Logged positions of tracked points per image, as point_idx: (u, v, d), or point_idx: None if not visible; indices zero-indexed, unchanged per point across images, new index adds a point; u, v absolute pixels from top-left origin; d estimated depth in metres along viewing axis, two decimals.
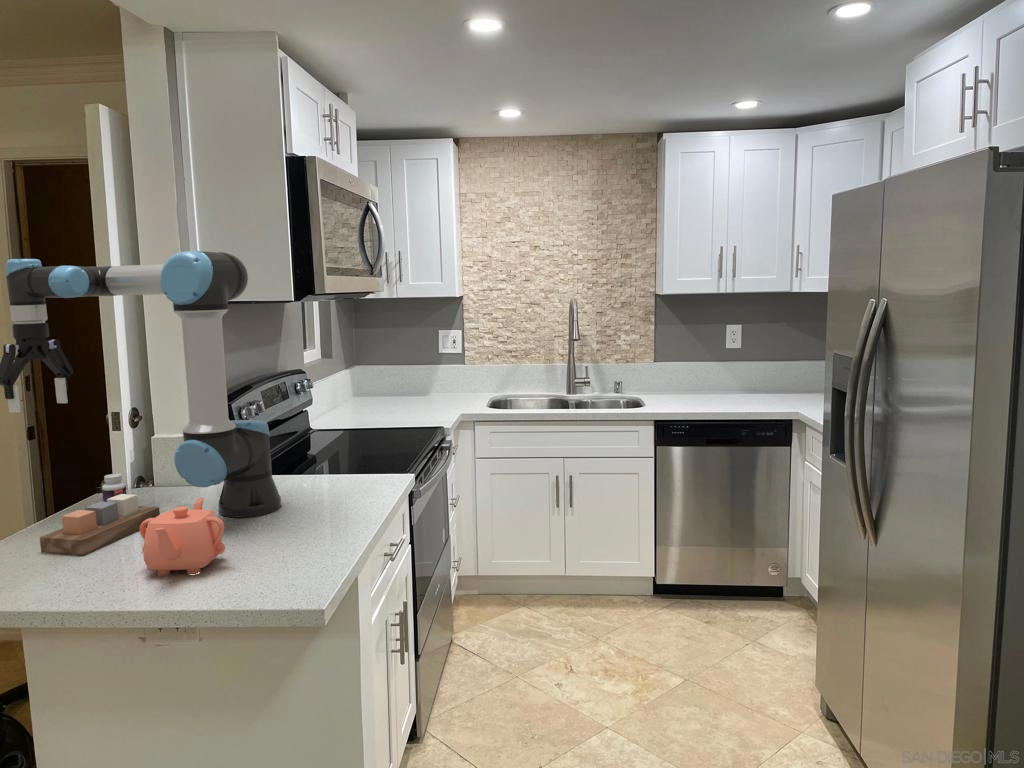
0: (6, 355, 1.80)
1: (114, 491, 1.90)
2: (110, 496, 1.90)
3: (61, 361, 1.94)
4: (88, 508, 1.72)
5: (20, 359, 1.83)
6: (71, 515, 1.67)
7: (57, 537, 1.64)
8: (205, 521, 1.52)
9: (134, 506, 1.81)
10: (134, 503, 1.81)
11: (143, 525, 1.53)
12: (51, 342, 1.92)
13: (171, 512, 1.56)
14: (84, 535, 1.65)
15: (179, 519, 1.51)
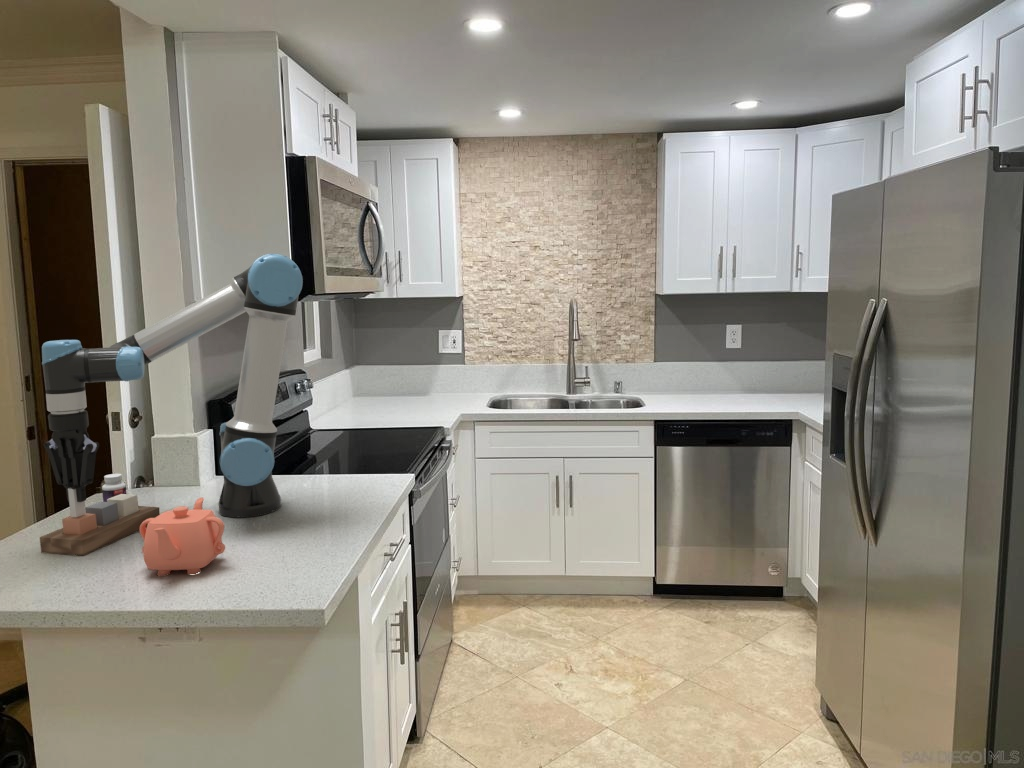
0: None
1: (114, 491, 1.90)
2: (110, 497, 1.90)
3: None
4: (88, 508, 1.72)
5: None
6: (71, 518, 1.67)
7: (57, 537, 1.64)
8: (205, 521, 1.52)
9: (134, 506, 1.81)
10: (134, 503, 1.81)
11: (143, 525, 1.53)
12: (87, 442, 1.64)
13: (171, 512, 1.56)
14: (84, 535, 1.65)
15: (179, 519, 1.51)
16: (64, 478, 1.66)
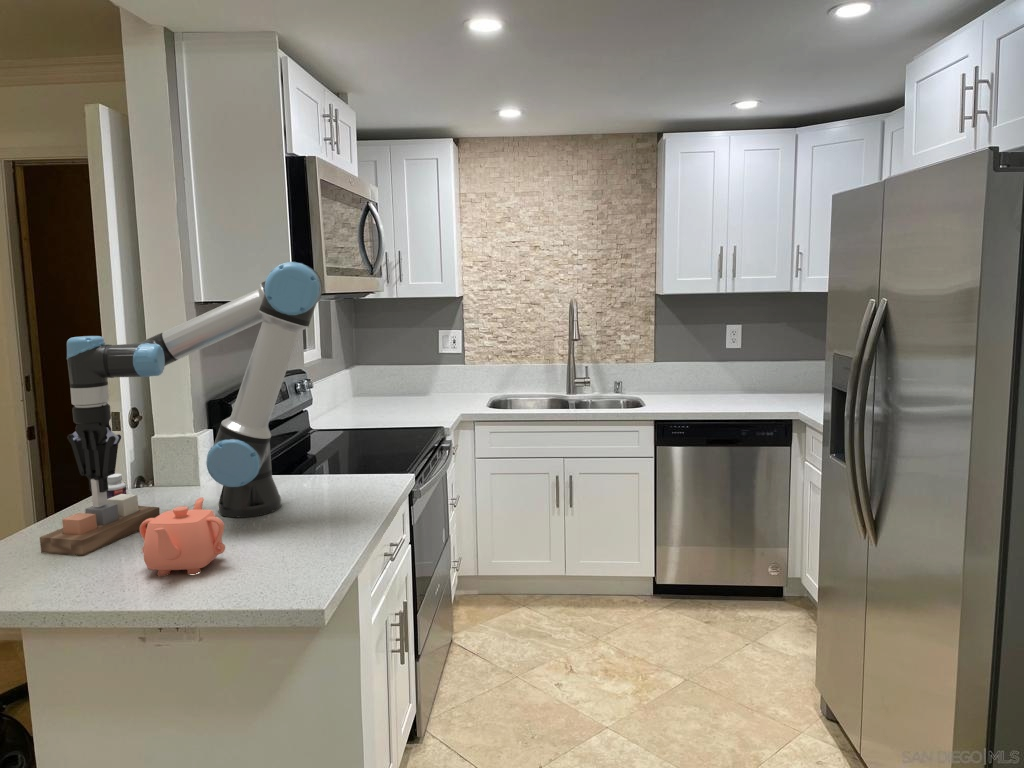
0: None
1: (114, 491, 1.90)
2: (110, 496, 1.90)
3: None
4: (88, 509, 1.73)
5: None
6: (71, 518, 1.67)
7: (57, 537, 1.64)
8: (205, 521, 1.52)
9: (134, 506, 1.81)
10: (134, 503, 1.81)
11: (143, 525, 1.53)
12: (110, 435, 1.70)
13: (171, 512, 1.56)
14: (84, 535, 1.65)
15: (179, 519, 1.51)
16: (87, 469, 1.72)
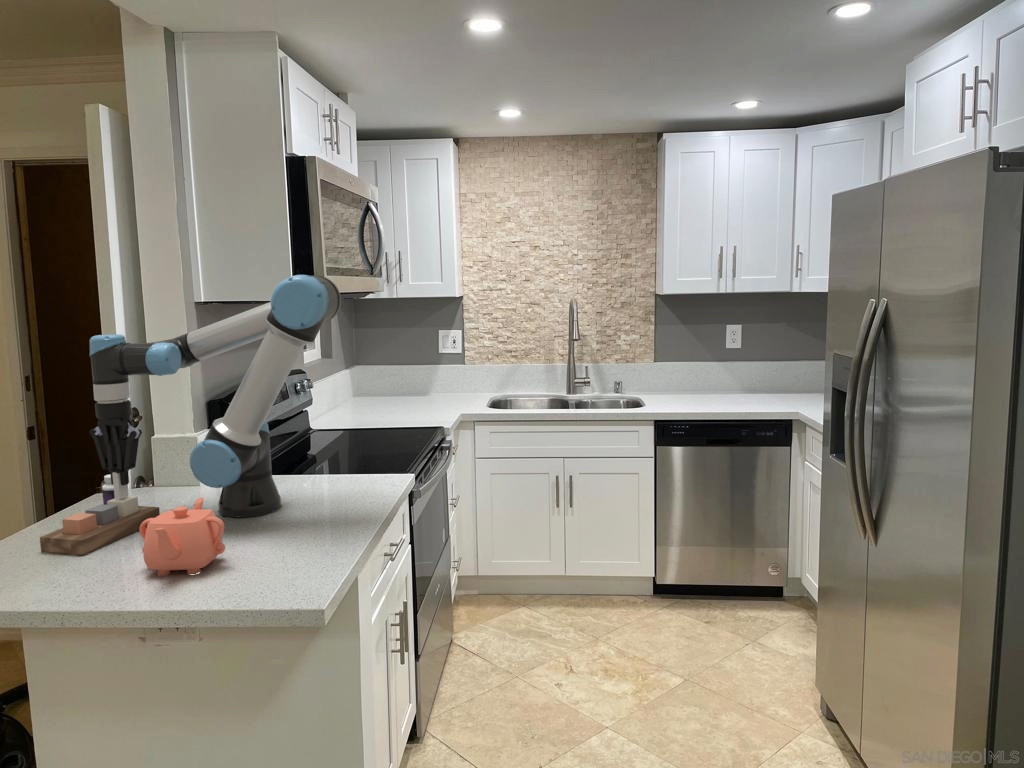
0: None
1: None
2: (110, 496, 1.90)
3: None
4: (88, 511, 1.73)
5: None
6: (71, 518, 1.67)
7: (57, 537, 1.64)
8: (205, 521, 1.52)
9: (134, 508, 1.81)
10: (134, 505, 1.81)
11: (143, 525, 1.53)
12: (131, 430, 1.77)
13: (171, 512, 1.56)
14: (84, 535, 1.65)
15: (179, 519, 1.51)
16: (109, 463, 1.79)
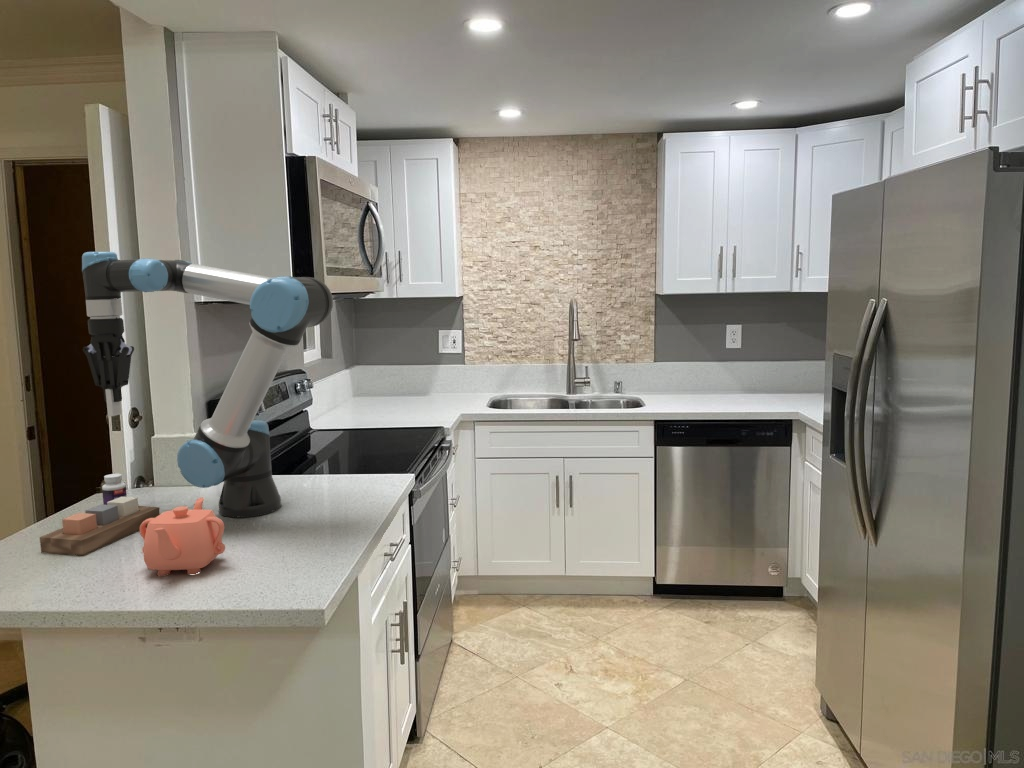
0: None
1: (114, 491, 1.90)
2: (110, 496, 1.90)
3: None
4: (88, 511, 1.73)
5: None
6: (71, 518, 1.67)
7: (57, 537, 1.64)
8: (205, 521, 1.52)
9: (134, 509, 1.81)
10: (134, 506, 1.81)
11: (143, 525, 1.53)
12: (123, 346, 1.79)
13: (171, 512, 1.56)
14: (84, 535, 1.65)
15: (179, 519, 1.51)
16: (102, 380, 1.81)
